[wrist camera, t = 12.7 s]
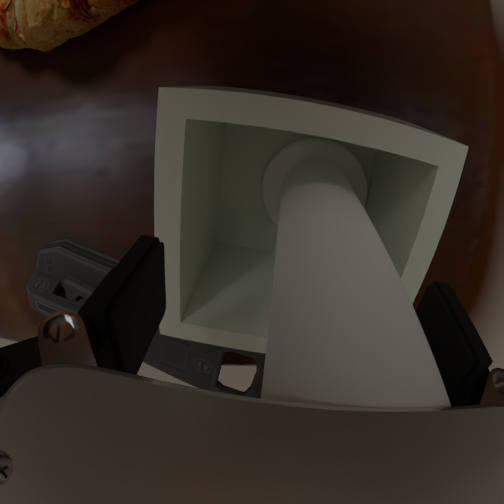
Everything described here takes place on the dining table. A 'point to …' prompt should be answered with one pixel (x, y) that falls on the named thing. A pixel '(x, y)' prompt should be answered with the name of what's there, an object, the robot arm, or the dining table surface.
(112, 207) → the dining table surface
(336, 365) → the candle
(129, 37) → the dining table surface
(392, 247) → the open square box
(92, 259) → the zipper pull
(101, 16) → the croissant
